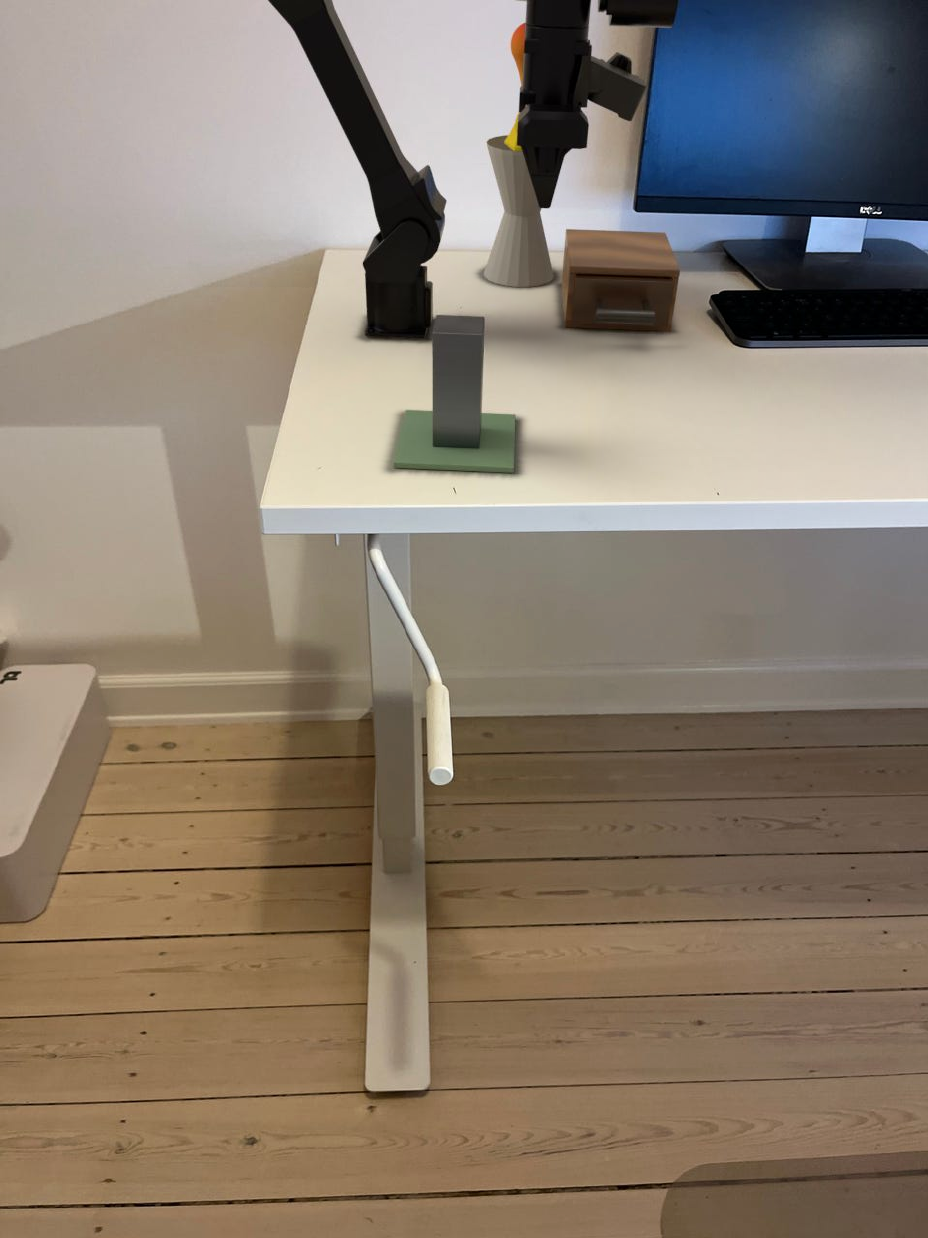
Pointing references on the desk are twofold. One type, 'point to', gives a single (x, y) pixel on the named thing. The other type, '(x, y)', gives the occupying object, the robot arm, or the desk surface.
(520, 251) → the lava lamp
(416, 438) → the mat
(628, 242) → the cabinet
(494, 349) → the desk surface
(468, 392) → the tall grey pillar
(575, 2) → the robot arm
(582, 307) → the drawer
